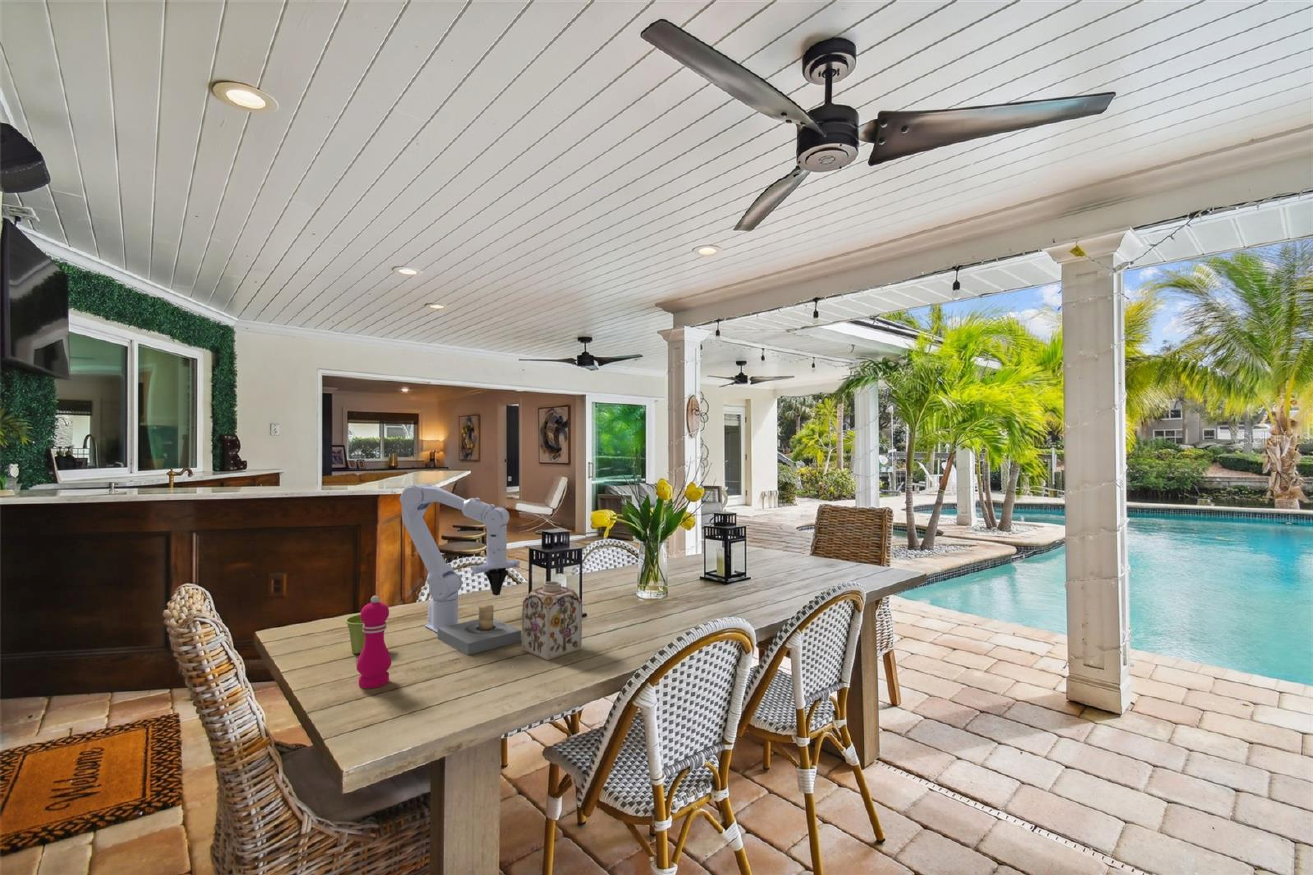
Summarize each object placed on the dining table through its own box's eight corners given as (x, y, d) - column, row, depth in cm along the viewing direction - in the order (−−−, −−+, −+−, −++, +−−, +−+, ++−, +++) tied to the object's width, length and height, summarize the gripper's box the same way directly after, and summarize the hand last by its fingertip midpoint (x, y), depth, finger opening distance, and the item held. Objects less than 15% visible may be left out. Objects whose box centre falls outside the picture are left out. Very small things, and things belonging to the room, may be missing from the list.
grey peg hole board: (437, 638, 166) (437, 628, 166) (489, 626, 178) (489, 616, 178) (467, 655, 154) (467, 643, 154) (521, 641, 165) (521, 630, 165)
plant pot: (390, 650, 157) (390, 617, 157) (352, 659, 150) (353, 625, 150) (376, 642, 163) (376, 610, 163) (339, 650, 156) (340, 618, 156)
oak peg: (475, 638, 167) (476, 606, 167) (489, 635, 170) (489, 603, 170) (482, 642, 164) (482, 609, 164) (495, 638, 167) (496, 606, 167)
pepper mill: (356, 692, 130) (357, 601, 131) (356, 680, 137) (357, 593, 137) (392, 686, 134) (393, 597, 134) (390, 674, 140) (391, 590, 140)
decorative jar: (520, 650, 157) (521, 582, 158) (555, 640, 166) (556, 576, 166) (547, 661, 149) (548, 590, 150) (583, 650, 158) (583, 582, 158)
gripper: (480, 553, 167) (480, 601, 167) (525, 547, 177) (524, 592, 177) (468, 550, 172) (468, 597, 172) (512, 544, 182) (512, 588, 182)
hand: (496, 594), depth 175 cm, fingers closed
